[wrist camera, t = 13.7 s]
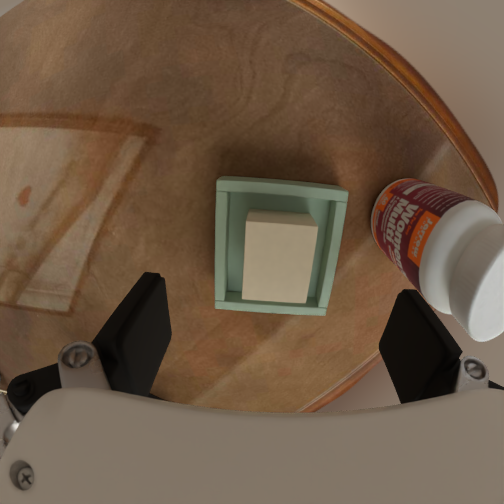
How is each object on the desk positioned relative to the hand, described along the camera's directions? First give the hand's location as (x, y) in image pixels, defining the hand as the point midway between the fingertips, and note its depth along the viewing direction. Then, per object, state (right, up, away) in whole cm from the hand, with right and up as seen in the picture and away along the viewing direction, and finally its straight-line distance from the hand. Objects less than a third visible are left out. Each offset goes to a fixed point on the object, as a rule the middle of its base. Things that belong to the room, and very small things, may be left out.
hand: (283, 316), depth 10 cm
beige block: (0, +3, +8) cm, 9 cm away
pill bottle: (+10, +5, +8) cm, 14 cm away
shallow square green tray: (+1, +3, +9) cm, 9 cm away
